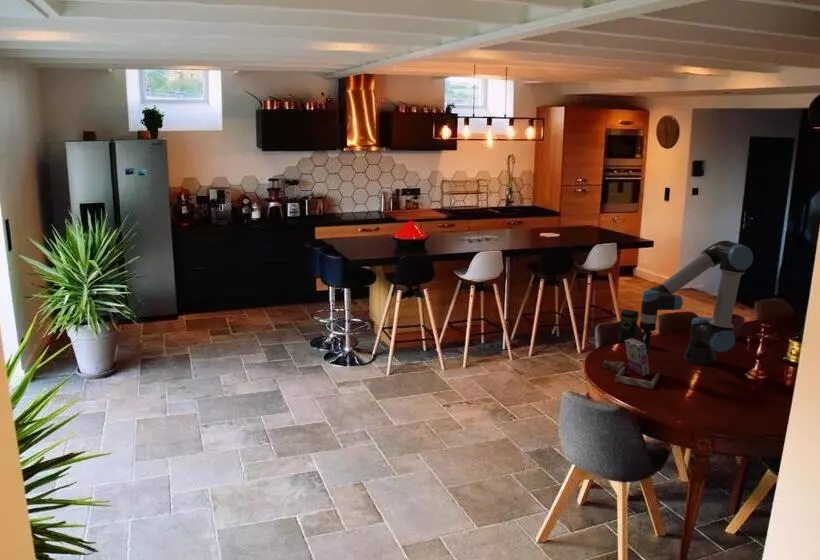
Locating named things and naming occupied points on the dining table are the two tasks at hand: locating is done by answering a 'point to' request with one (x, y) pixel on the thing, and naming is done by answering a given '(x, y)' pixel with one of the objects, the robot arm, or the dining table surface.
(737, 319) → the plant pot
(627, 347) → the candy bar box
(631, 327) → the coffee jar
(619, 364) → the walnut T block
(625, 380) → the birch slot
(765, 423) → the dining table surface
